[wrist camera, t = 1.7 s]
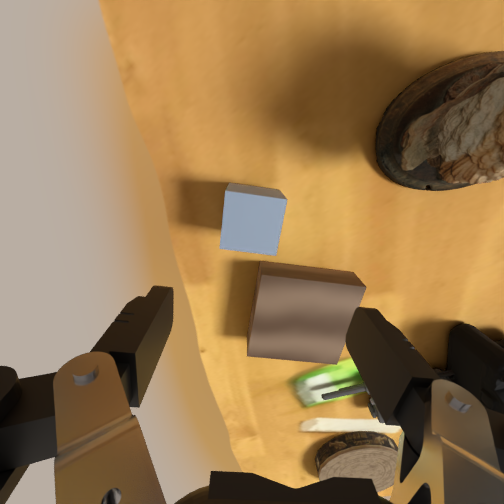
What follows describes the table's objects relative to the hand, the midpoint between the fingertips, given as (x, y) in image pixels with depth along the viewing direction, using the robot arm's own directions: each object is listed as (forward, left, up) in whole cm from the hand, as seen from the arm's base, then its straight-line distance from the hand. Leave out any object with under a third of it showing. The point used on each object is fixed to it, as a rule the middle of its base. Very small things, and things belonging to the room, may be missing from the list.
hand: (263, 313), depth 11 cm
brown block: (+12, +8, -19) cm, 23 cm away
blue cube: (0, 0, -18) cm, 18 cm away
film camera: (+17, +36, -18) cm, 44 cm away
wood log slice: (+45, +27, -19) cm, 56 cm away
